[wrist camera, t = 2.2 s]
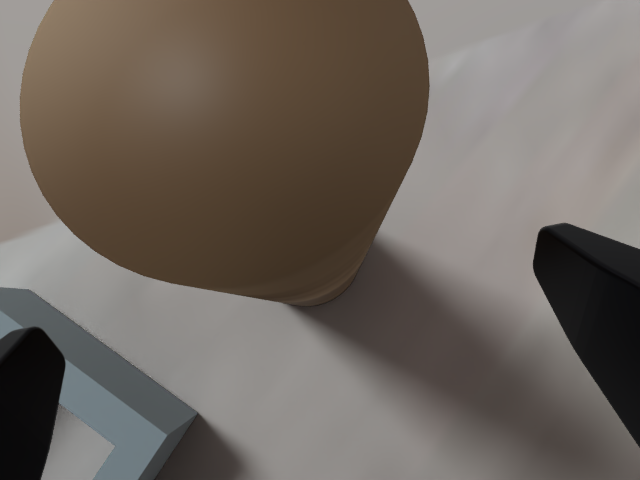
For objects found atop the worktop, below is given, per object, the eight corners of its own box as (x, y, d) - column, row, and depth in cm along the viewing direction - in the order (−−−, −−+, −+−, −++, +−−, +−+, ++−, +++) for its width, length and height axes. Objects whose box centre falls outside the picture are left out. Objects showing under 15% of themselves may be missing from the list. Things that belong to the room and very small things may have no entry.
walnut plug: (381, 236, 17) (507, 18, 4) (323, 327, 17) (275, 376, 4) (292, 181, 18) (178, -153, 5) (233, 268, 17) (-62, 141, 4)
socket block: (197, 412, 16) (167, 435, 13) (57, 625, 15) (-10, 700, 12) (28, 289, 17) (-34, 284, 15) (-113, 479, 16) (-212, 516, 13)
